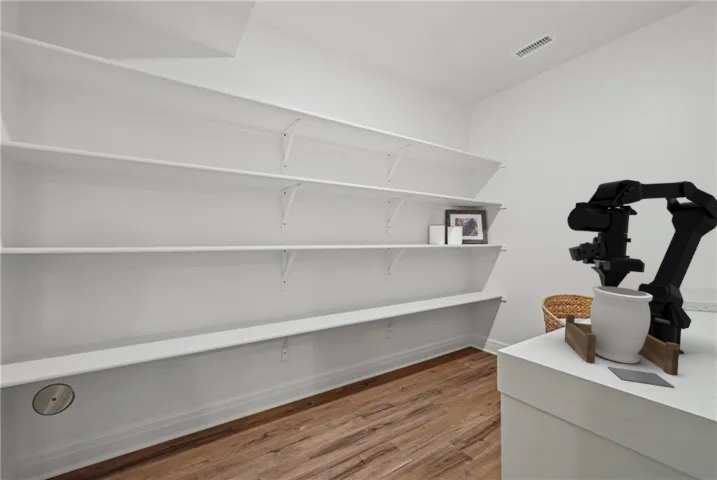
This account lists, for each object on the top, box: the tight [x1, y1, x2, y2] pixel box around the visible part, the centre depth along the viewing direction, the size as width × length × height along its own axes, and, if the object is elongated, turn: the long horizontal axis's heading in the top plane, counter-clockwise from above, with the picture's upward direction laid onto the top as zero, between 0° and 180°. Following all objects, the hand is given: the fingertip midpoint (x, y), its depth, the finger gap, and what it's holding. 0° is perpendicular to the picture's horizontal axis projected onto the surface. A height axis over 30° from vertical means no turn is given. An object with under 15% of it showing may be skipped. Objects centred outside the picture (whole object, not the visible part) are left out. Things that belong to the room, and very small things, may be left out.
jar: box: [589, 285, 653, 364], centre depth 72 cm, size 11×10×15 cm
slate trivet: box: [607, 366, 676, 389], centre depth 62 cm, size 8×6×1 cm
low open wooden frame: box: [564, 313, 680, 376], centre depth 73 cm, size 16×15×7 cm
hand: (607, 297), depth 78 cm, fingers closed
